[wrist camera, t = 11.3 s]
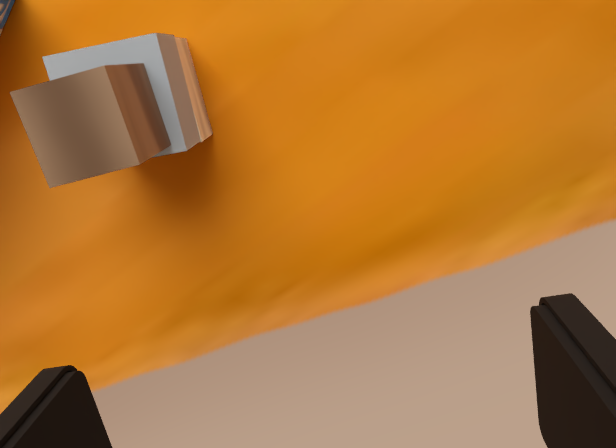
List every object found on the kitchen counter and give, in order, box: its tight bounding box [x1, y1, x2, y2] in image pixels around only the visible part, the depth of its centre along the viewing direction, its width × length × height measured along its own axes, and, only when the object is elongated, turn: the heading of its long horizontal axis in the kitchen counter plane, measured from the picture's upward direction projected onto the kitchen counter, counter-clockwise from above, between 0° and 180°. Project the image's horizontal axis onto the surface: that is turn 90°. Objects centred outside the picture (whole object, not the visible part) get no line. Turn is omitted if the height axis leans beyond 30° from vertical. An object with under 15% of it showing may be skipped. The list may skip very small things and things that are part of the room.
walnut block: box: [10, 63, 171, 188], centre depth 29 cm, size 5×5×6 cm
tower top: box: [42, 33, 201, 158], centre depth 34 cm, size 7×7×4 cm
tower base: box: [175, 37, 213, 142], centre depth 38 cm, size 7×7×4 cm
